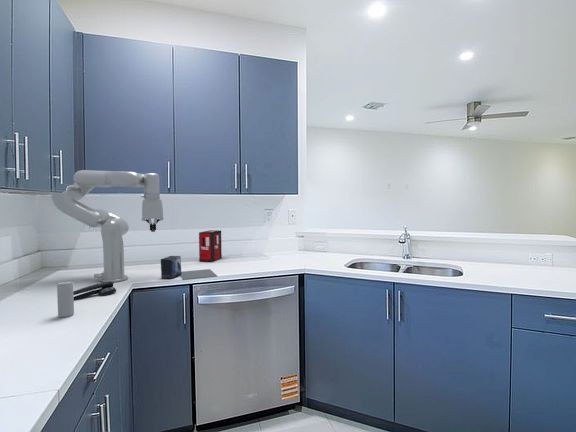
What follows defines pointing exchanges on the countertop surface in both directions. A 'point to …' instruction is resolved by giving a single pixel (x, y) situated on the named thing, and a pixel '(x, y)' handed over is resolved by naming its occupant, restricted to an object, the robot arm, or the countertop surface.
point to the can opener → (105, 290)
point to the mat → (197, 274)
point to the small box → (170, 267)
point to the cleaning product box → (210, 246)
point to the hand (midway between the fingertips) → (153, 231)
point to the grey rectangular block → (65, 299)
